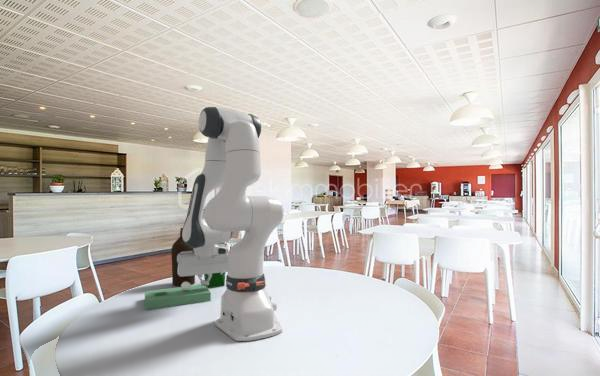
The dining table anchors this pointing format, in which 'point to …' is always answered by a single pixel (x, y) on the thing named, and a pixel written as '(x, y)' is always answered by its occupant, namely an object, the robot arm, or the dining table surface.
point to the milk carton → (216, 276)
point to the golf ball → (185, 286)
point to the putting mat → (176, 297)
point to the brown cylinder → (176, 249)
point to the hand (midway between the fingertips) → (204, 285)
